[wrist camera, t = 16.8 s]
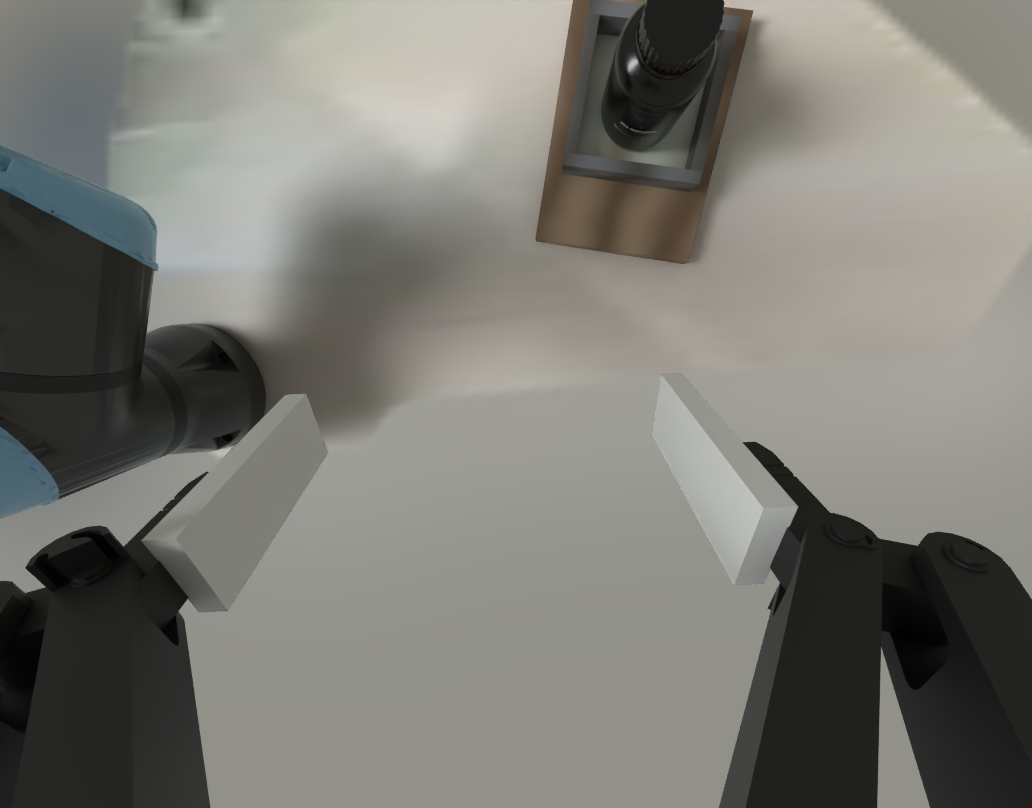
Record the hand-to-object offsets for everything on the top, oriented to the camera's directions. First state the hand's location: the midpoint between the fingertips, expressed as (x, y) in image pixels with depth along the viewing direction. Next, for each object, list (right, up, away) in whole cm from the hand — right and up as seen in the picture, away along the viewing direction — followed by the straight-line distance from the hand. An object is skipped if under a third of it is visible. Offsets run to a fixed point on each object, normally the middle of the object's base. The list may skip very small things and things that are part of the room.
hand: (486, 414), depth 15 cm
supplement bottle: (+12, +27, +20) cm, 36 cm away
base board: (+12, +25, +22) cm, 36 cm away
